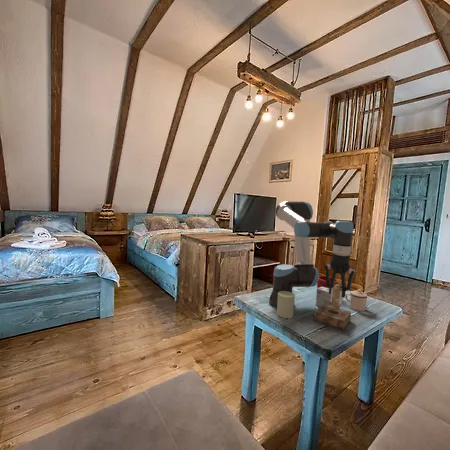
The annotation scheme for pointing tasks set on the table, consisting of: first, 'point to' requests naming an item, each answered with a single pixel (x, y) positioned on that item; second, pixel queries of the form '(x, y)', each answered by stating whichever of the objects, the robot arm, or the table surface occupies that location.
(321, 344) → the table surface
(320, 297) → the light bulb box
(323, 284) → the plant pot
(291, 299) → the can
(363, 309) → the teacup with lid
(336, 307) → the dowel pin
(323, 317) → the bore block
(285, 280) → the robot arm
